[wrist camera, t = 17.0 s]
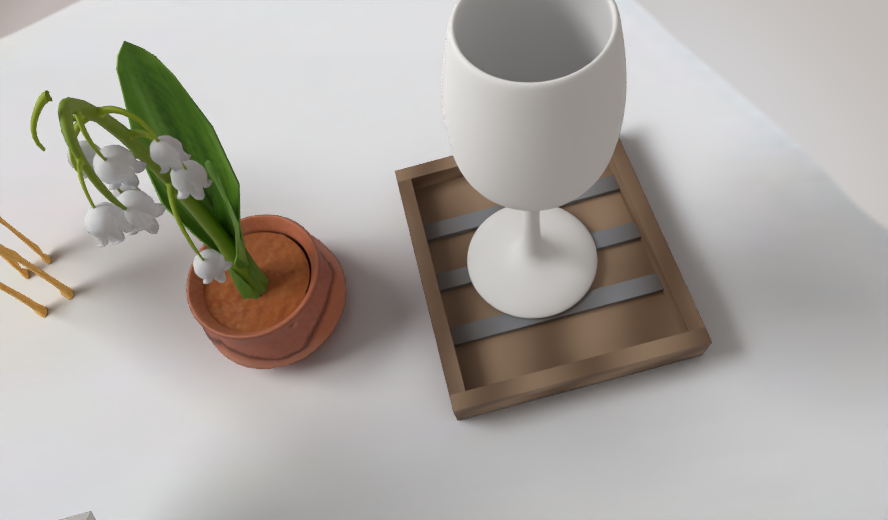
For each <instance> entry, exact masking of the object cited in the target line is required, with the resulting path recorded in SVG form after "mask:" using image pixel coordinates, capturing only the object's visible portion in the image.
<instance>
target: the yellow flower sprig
mask: <svg viewBox="0 0 888 520" xmlns="http://www.w3.org/2000/svg"><path fill="white" fill-rule="evenodd" d="M0 223H2V224H3V225H5V226H6V227H7V228H8V229H10V230H11V231H12V232H13V233H14V234H15V235H17V236H18V237H19V238H20V239H21V240H22V241H23V242H25V243H26V244H27V245H28V246H29V247H30V248H31V249H32V250H34V251H35V252H36V253H37V254H39V255H40V256H41V257H42V260H43V261H45V262H46V263H48V264H51V258H50V257H49V256H48V255H47V254H43V252H42V251H41V250H40V248H39V247H38V245H36V244H35V243H33V242H31V241H30V240H29V239H27V238H26V237H25V236H24V235H22V234H21V233H20V232H18V231H17V230H16V229H15V228H13V227H12V226H11V225H9V224H8V223H7V222H6V221H5V220H3V219H2V218H1V217H0ZM0 256H2V257H3V258H4V259H5V260H6V261H7V262H8V263H9V264H10V265H11V266H13V267H14V268H15V269H16V270H18V271H19V272H20V274H21V275H22V276H23V277H25V278H26V279H28V278H29V273H28V271H27V270H26V269H24V268H21V267H20V266H19V264H18V263H17V262H19V263H20V264H22V265H23V266H25V267H26V268H28V269H29V270H31V271H32V272H34V273H35V274H37V275H38V276H40V277H41V278H43V279H45V280H46V281H48V282H49V283H51V284H52V285H54V286H55V287H56V288H58V289H59V290H60V292H61V294H62V295H63V296H65V297H66V298H68V299H72V298H73V290H72V289H71V288H69V287H67V286H65V285H64V284H62V283H61V282H59V281H58V280H56V279H55V278H53V277H51V276H50V275H48V274H47V273H45V272H44V271H42V270H41V269H39V268H38V267H36V266H34V265H33V264H31V263H30V262H28V261H27V260H25V259H24V258H22V257H21V256H20V255H19V254H18V253H17V252H15V251H13V250H11V249H8V248H6V247H4V246H3V245H1V244H0ZM0 289H1V290H3V291H5V292H6V293H8V294H10V295H12V296H13V297H15V298H17V299H18V300H20V301H21V302H23V303H24V304H26V305H28V306H29V307H31V308H32V309H33V310H34V311H35V312H36V313H37V314H38V315H40V316H42V317H46V316H47V309H46V308H45V307H44V306H43V305H40V304H38V303H36V302H34V301H33V300H31V299H30V298H28V297H26V296H25V295H23V294H21V293H19V292H17V291H15V290H14V289H12V288H10V287H8V286H6V285H4V284H2V283H1V282H0Z"/></svg>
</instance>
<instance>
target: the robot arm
mask: <svg viewBox="0 0 888 520" xmlns="http://www.w3.org/2000/svg"><path fill="white" fill-rule="evenodd" d="M60 520H96V519H95V517H94V515H93V514H92V512H91V511H89V512H85V513H82V514H78V515H75V516H71V517H67V518H64V519H60Z"/></svg>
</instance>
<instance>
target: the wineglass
mask: <svg viewBox="0 0 888 520" xmlns="http://www.w3.org/2000/svg"><path fill="white" fill-rule="evenodd" d="M625 102H626V58H625V47H624V39H623V32H622V25H621V19H620V15H619V11H618V8H617V5H616V3H615V1H614V0H458V2H457V3H456V5H455V7H454V9H453V11H452V13H451V16H450V19H449V23H448V28H447V34H446V41H445V48H444V57H443V68H442V108H443V117H444V123H445V128H446V133H447V137H448V141H449V144H450V148H451V151H452V154H453V156H454V159H455V161H456V163H457V165H458V167H459V169H460V171H461V173H462V174H463V176H464V177H465V178H466V180H467V181H468V182H469V183H470V185H471V186H472V187H473V188H474V189H476V190H477V191H478V192H479V193H480V194H481V195H483V196H484V197H486V198H487V199H489V200H490V201H492V202H494V203H496V204H499V205H501V206H504V207H506V208H503V209H501V210H499V211H497V212H496V213H494V214H493V215H491V216H490V217H489V218H487V219H486V220H485V221H484V222H483V223H482V224H481V225H480V226H479V228H478V229H477V231H476V232H475V234H474V235H473V237H472V240H471V242H470V245H469V249H468V255H467V266H468V272H469V276H470V279H471V281H472V283H473V285H474V287H475V289H476V290H477V292H478V293H479V294H480V296H481V297H482V298H483V299H484V300H485V301H486V302H487V303H489V304H490V305H491V306H493V307H494V308H496V309H498V310H499V311H501V312H504V313H506V314H509V315H512V316H516V317H520V318H544V317H549V316H553V315H556V314H559V313H561V312H563V311H565V310H567V309H569V308H571V307H572V306H574V305H575V304H576V303H577V302H579V301H580V300H581V299H582V298H583V296H584V295H585V294H586V293H587V291H588V290H589V288H590V287H591V285H592V283H593V281H594V278H595V275H596V271H597V262H598V259H597V250H596V246H595V243H594V240H593V238H592V236H591V234H590V233H589V231H588V230H587V228H586V227H585V226H584V225H583V223H582V222H581V221H580V220H578V219H577V218H576V217H575V216H573V215H572V214H571V213H569V212H567V211H565V210H563V209H561V208H559V206H562V205H564V204H566V203H569V202H571V201H573V200H574V199H576V198H578V197H579V196H581V195H582V194H583V193H585V192H586V191H587V190H588V189H589V188H590V187H591V186H593V185H594V183H595V182H596V181H597V180H598V179H599V177H600V176H601V175H602V173H603V172H604V171H605V169H606V167H607V165H608V163H609V162H610V160H611V157H612V155H613V153H614V150H615V147H616V144H617V141H618V138H619V134H620V130H621V126H622V121H623V116H624V110H625Z"/></svg>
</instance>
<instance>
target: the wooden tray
mask: <svg viewBox="0 0 888 520" xmlns="http://www.w3.org/2000/svg"><path fill="white" fill-rule="evenodd" d="M395 174H396V178H397V182H398V186H399V190H400V194H401V199H402V203H403V207H404V211H405V215H406V219H407V223H408V227H409V231H410V236H411V240H412V244H413V248H414V252H415V256H416V260H417V264H418V268H419V272H420V277H421V281H422V285H423V289H424V293H425V297H426V301H427V305H428V309H429V314H430V318H431V322H432V326H433V330H434V334H435V338H436V342H437V346H438V350H439V355H440V359H441V363H442V367H443V371H444V375H445V379H446V383H447V387H448V392H449V396H450V400H451V404H452V408H453V412H454V414H455V416H456V418H457V420H461V419H464V418H468V417H472V416H476V415H479V414H483V413H487V412H490V411H494V410H498V409H502V408H505V407H509V406H513V405H517V404H520V403H524V402H528V401H532V400H535V399H539V398H543V397H547V396H550V395H554V394H558V393H562V392H565V391H569V390H573V389H577V388H580V387H584V386H588V385H592V384H595V383H599V382H603V381H607V380H610V379H614V378H618V377H622V376H625V375H629V374H633V373H637V372H640V371H644V370H648V369H652V368H655V367H659V366H663V365H667V364H670V363H674V362H678V361H682V360H685V359H689V358H693V357H697V356H700V355H702V354H703V353H704V352H705V350H706V349H707V348H708V347H709V345H710V344H711V343H712V341H711V339H710V337H709V335H708V333H707V330H706V328H705V326H704V324H703V322H702V319H701V317H700V315H699V313H698V311H697V308H696V306H695V304H694V302H693V300H692V297H691V295H690V293H689V291H688V289H687V286H686V284H685V282H684V280H683V278H682V276H681V273H680V271H679V269H678V267H677V265H676V262H675V260H674V258H673V256H672V254H671V251H670V249H669V247H668V245H667V243H666V240H665V238H664V236H663V234H662V232H661V229H660V227H659V225H658V223H657V221H656V218H655V216H654V214H653V212H652V210H651V207H650V205H649V203H648V201H647V199H646V196H645V194H644V192H643V190H642V188H641V185H640V183H639V181H638V179H637V177H636V174H635V172H634V170H633V168H632V166H631V163H630V161H629V159H628V157H627V155H626V152H625V150H624V148H623V146H622V144H621V141H620V139H619V138H618V141H617V144H616V147H615V150H614V153H613V155H612V157H611V160H610V162H609V163H608V165H607V167H606V169H605V171H604V172H603V173H602V175H601V176H600V177H599V179H598V180H597V181H596V182H595V183H594V185H593V186H591V187H590V188H589V189H588V190H587V191H586V192H585V193H583V194H582V195H581V196H579V197H578V198H576V199H574V200H573V201H571V202H569V203H566V204H564V205H562V206H559V208H561V209H563V210H565V211H567V212H569V213H571V214H572V215H573V216H575V217H576V218H577V219H578V220H580V221H581V222H582V223H583V225H584V226H585V227H586V228H587V230H588V231H589V233H590V234H591V236H592V238H593V240H594V243H595V246H596V250H597V259H598V262H597V271H596V275H595V278H594V281H593V283H592V285H591V287H590V288H589V290H588V291H587V293H586V294H585V295H584V296H583V298H582V299H581V300H580V301H579V302H577V303H576V304H575V305H574V306H572V307H571V308H569V309H567V310H565V311H563V312H561V313H559V314H556V315H553V316H549V317H544V318H520V317H516V316H512V315H509V314H506V313H504V312H501V311H499V310H498V309H496V308H494V307H493V306H491V305H490V304H489V303H487V302H486V301H485V300H484V299H483V298H482V297H481V296H480V294H479V293H478V292H477V290H476V289H475V287H474V285H473V283H472V281H471V279H470V276H469V272H468V266H467V255H468V249H469V245H470V242H471V240H472V237H473V235H474V234H475V232H476V231H477V229H478V228H479V226H480V225H481V224H482V223H483V222H484V221H485V220H486V219H487V218H489V217H490V216H491V215H493V214H494V213H496V212H497V211H499V210H501V209H503V208H506V207H504V206H501V205H499V204H496V203H494V202H492V201H490V200H489V199H487V198H486V197H484V196H483V195H481V194H480V193H479V192H478V191H477V190H476V189H474V188H473V187H472V186H471V185H470V183H469V182H468V181H467V180H466V178H465V177H464V176H463V174H462V173H461V171H460V169H459V167H458V165H457V163H456V161H455V159H454V156H449V157H446V158H442V159H438V160H434V161H431V162H427V163H423V164H419V165H416V166H412V167H408V168H404V169H401V170H397V171H395Z"/></svg>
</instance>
